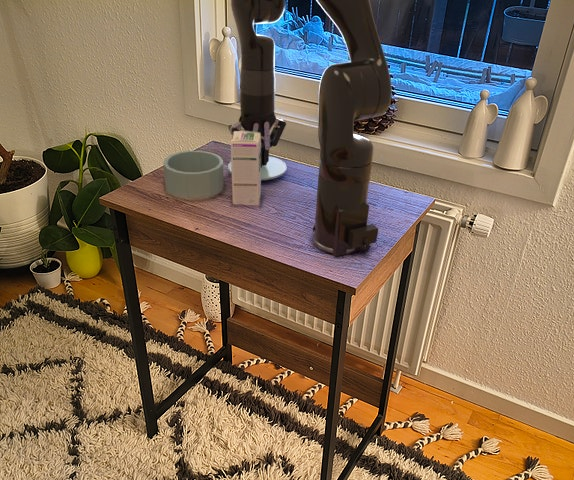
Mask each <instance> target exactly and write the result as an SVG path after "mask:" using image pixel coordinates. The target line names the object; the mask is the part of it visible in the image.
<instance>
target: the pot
mask: <svg viewBox="0 0 574 480" xmlns="http://www.w3.org/2000/svg"><path fill="white" fill-rule="evenodd" d="M163 174H164V184H165V191H166V193H167V194H168V195H169V196H170V197H172V196H174V197H176V198H180V199H185V200H201V199H207V198H211V197H214V196H217V195H219V194H220V193H221V191H223V190H224V183H225V182H224V181H225V180H224V159H223V158H222V157H221V156H220V155H218V154H216V153H213V152H211V151H204V150H185V151H183V150H182V151H178V152H175V153H173V154H170V155H168V156H167V157H166V158H165V159H163Z"/></svg>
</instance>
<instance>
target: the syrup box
mask: <svg viewBox="0 0 574 480" xmlns="http://www.w3.org/2000/svg"><path fill="white" fill-rule="evenodd" d="M230 162H231V170H232V174H231V197H232V198H231V199H232V205H246V206H247V205H248V206H249V205H250V206H251V205H252V206H260V203H261V196H262V180H261V133H260V132H255V131H245V130H241V131H234V133H233V136H232V135H231V139H230Z"/></svg>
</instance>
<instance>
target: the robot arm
mask: <svg viewBox="0 0 574 480" xmlns="http://www.w3.org/2000/svg"><path fill="white" fill-rule="evenodd" d="M315 1H316V2H317V4H318V5H319V6H320V7H321V9H322V10H323V11H324V13H325V14H326V15H327V16H328V17H329V18H330V20H331V21H332V23H334V25H335V26H336V28H337V29H338V31H339V33H340V34H341V36H342V38H343V41H344V43H345V47H346V50H347V54H348V57H349V61H347V62H339V63H333V64H331V65H329V66H327V67H326V68H325V69H324V71H323V73H322V75H321V78H320V81H319V87H318V88H319V89H318V117H317V118H318V121H317V122H318V124H317V128H318V129H317V137H318V143H319V161H318V162H319V163H318V175H317V188H316V189H317V190H316V202H315V214H314V215H315V217H314V225H313V228H312V233H313V236H312V242H313V244H314V246H315V247H316V248H317V249H318V250H320V251H323V252H324V253H328V254H332V255H333V256H335V257H342V256H345V255H350V254H354V253H357V252H361V253H362V254H366V253H368V252H369V251H370V249H371V248H370V247H371V245H372V244H375V243H377V241H378V235H379V228H378V227H377V226H376V225H375V224H374V223H371V224H368V220H369V213H370V204H368V196H369V188H370V181H371V175H372V167H373V158H374V144H373V143H372V141H370V140H369V139H368V138H366V137H365V136H362V135H360V134H356V133H354V123H355V121H356V122H357V121H362V120H369V119H373V118H377V117H381V116H383V115H384V114H385V113H386V112H387V111H388V110H389V109H390V106H391V102H392V98H393V97H392V96H393V89H392V80H391V79H392V78H391V74H390V71H389V66H388V62H387V60H386V56H385V52H384V49H383V46H382V43H381V39H380V35H379V32H378V29H377V25H376V22H375V17H374V15H373V10H372V5H371V0H315ZM230 7H231V12H232V16H233V19H234V23H235V26H236V31H237V35H238V39H239V45H240V74H239V96H240V97H239V98H240V100H239V103H240V104H239V105H240V106H239V107H240V116H239V118H238V122H236V123H235V124H229V125H228V127H227V129H228V131H229V132H230V134H231V137H232V136H233V133H234V131H242V129H243V131H255V132H260V133H261V145H262V146H263V166H264V165H267V163H268V161H269V156H270V149H271V148H272V147H276V146H277V145H278V144H279V141H280V139H281V137H282V136H283V135H282V134H283V132H284V130H285V128H286V126H287V122H286V121H285V120H283V119H281V118H278V117H277V115H276V114H275V110H276V71H275V70H276V69H275V64H276V63H275V62H276V44H275V41H274V39H273V38H272V37H270V36H268V35H263V34H257V33H256V31H255V27H254V25H262V24H263V25H264V24H274V23H276V22H278V21H279V20H280V19H281V18H282V16H283V15H284V13H285V8H286V0H230ZM271 129H272V130H271ZM270 131H271V133H270Z"/></svg>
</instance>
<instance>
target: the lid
mask: <svg viewBox="0 0 574 480" xmlns="http://www.w3.org/2000/svg"><path fill="white" fill-rule="evenodd" d="M227 170H228V172H229V174H231V175H232V170H231V161H229V162H228V164H227ZM287 170H288V166H287V164H286V162H285V161H284V160H281V159H279V158H276V157H274V156H270V155H269V161H268V163H267V165H264V166H263V146H262V145H261V181H269V180H275V179H277V178H280V177H282V176H283V175H285V174H286V173H287Z"/></svg>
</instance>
